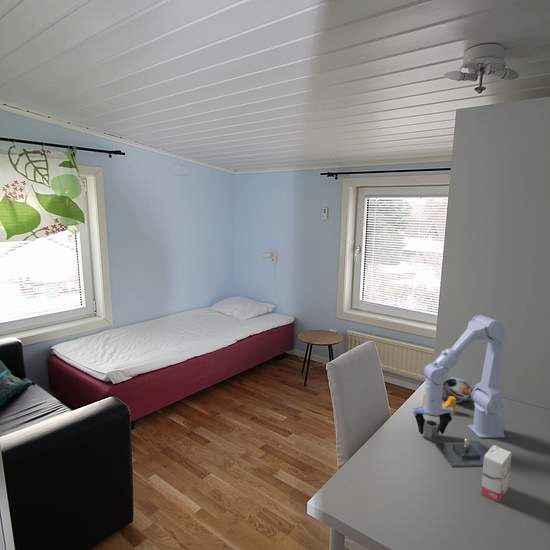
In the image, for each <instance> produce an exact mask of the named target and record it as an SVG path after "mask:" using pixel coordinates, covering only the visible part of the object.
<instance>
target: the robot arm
mask: <svg viewBox="0 0 550 550" xmlns="http://www.w3.org/2000/svg"><path fill="white" fill-rule="evenodd" d="M506 330H507V326H506V325H505V324H504V323H503V322H502V321H501V320H497V319H494V318H491V317H489V316H485V314H476V315H475V316H473V317H472V319H471V320H470V321H469V322H468V325H467V328H466V329H465V331H464V332H463V333H462V334H461V336H460V337H459V338H458V339H457V341H456V342H455V343H454V344H453V346H451V348H450V347H449V348H446V349H444V350H442V351H441V352H440V354H439V356H438V357H437V358H436V359H435V360H434V361H432V363H429V364H427V365H426V366H425V367H424V369H423V370H422V374H423V375H424V378H425V387H424V388H425V389H424V395H425V403H424V406H423V405H422V406H417V407H411V414H412V416H414V417H415V421H416V423H417V427H418V432H419V434H420V435H423V431H424V423H425V421H426V419H425V418H424V415H426V414H429V416H438V417H439V422H438V424H439V433H441V434H442V435H444V434H445V431H446V428H447V427H448V425H449V424H450V422H451V421H452V420H453V416H454V414H453V413H454V410H453V409H452V408H451V407H442V404H443V400H442V392H443V383H444V382H445V381H446V380H447V378H449V377H448V376H449V374H450V371H451V370H453V368H454V367H455V366H456V365H457V364H458V363H459V362H460V360H461V358H460V357H461V356H460V355H461V354H463V353H464V351H466V350H467V349H468V348H469V347H470V346H471V345H472V344H473V343H474V342H476V341H477V340H486V341H487V345H486V352H485V357H484V362H483V363H484V364H483V368H482V374H481V377H480V378H481V379H480V381H479V382H478V383H477V382H476V383H475V385H474V390H473V391H472V394H471V400H472V401H473V405H474V416H473V423H472V424H468V425H467V426H468V428H469V429H470V430H471V431H473V433H474V434H475V435H476V436H477V437H478V438H480V439H482V438H484V439H486V438H488V439H489V438H505V437H506V436H505V434H504V432H505V431H504V430H505V421H506V420H505V419H506V418H505V415H504V413H503V411H502V410H503V408H504V402H503V394H502V392H501V390H500V389H499V382H500V377H501V372H502V371H501V370H502V366H503V361H504V357H505V356H504V355H505V351H506V346H507V335H506V332H507V331H506Z"/></svg>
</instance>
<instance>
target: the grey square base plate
mask: <svg viewBox="0 0 550 550" xmlns="http://www.w3.org/2000/svg"><path fill="white" fill-rule="evenodd" d="M434 445H435V447H436V448H437V449H438V451H439V452H440V453H441V455H442V457H444V459H445V460H446V462H448V464H449V466H450V467H452V468H454V467H456V468H457V467H458V468H461V467H483V463H484V456H485V454H486V453H487V452H488V451H489V449H487V448H486V447H485V446H484V445H483V444H482V443H481V442H480V441H471V439H470V438H469V437H464V441H459V442H458V441H457V442H454V441H453V442H434Z"/></svg>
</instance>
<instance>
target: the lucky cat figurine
mask: <svg viewBox="0 0 550 550" xmlns="http://www.w3.org/2000/svg"><path fill="white" fill-rule="evenodd" d="M470 385H471V384H470V383H468V381H466V380H465V379H463V378H461V377H458V376H453V375H452V376H451V375H450V376H449V377H448V378H447V380H446V381H445V382H444V383H443V392H442V401H445V402H446V401H447V400H448V398H449V396H454V397H455V398H456V404H457V403H460V402H465V401H471V400H472V398H471V394H472V391H473V390H474V389H473V388H471V386H470Z"/></svg>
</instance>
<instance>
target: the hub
mask: <svg viewBox="0 0 550 550" xmlns="http://www.w3.org/2000/svg"><path fill="white" fill-rule="evenodd" d="M422 435H423V436H424V437H425V439H427V440H431V441H437V440H438V439H439V437H440V431H439V422H438V421H436V420H432V419H425V423H424V429H423V434H422Z"/></svg>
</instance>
